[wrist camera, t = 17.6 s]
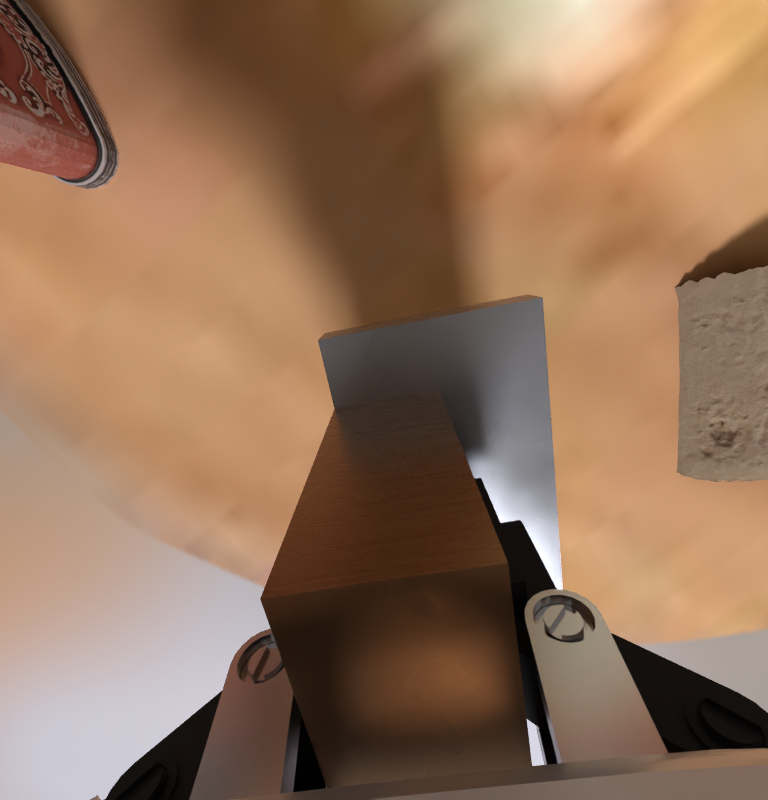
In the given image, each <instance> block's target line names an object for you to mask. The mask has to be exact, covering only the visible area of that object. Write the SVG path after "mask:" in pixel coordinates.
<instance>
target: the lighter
mask: <svg viewBox="0 0 768 800" xmlns="http://www.w3.org/2000/svg"><path fill="white" fill-rule="evenodd" d="M118 158H119V154H118V150H117V147H116V143H115V141H114V139H113V137H112V135H111V133H110V131H109V129H108V127H107V125H106V123H105V121H104V119H103V116H102V114H101V112H100V110H99V108H98V106H97V104H96V102H95V100H94V98H93V97H92V95H91V93H90V92H89V90H88V88H87V87H86V85H85V83H84V82H83V80H82V79H81V77H80V75H79V74H78V72H77V70H76V69H75V67H74V65H73V64H72V62H71V60H70V59H69V57H68V55H67V54H66V53H65V51H64V50H63V49H62V47H61V46H60V45H59V43H58V42H57V41H56V39H55V38H54V37H53V36H52V34H51V33H50V32H49V30H48V29H47V28H46V26H45V25H44V24H43V22H42V21H41V20H40V18H39V17H38V16H37V14H36V13H35V12H34V11H33V9H32V8H31V7H30V6H29V5H28V4H27V3H26V2H25V1H24V0H0V162H3V163H7V164H11V165H15V166H19V167H23V168H27V169H30V170H34V171H38V172H42V173H46V174H50V175H52V176H53V177H55V178H56V179H58V180H59V181H60V182H63V183H66V184H70V185H73V186H78V187H82V188H86V189H92V188H99V187H101V186H103V185H105V184H107V183H108V182H109V181H110V180H111V179H112V178H113V177H114V175H115V173H116V170H117V167H118Z"/></svg>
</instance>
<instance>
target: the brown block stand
mask: <svg viewBox="0 0 768 800" xmlns="http://www.w3.org/2000/svg"><path fill="white" fill-rule="evenodd" d="M318 342H319V346H320V350H321V354H322V358H323V362H324V366H325V371H326V375H327V379H328V383H329V387H330V391H331V395H332V400H333V404H334V408H335V409H334V412H333V415H332V417H331V420H330V422H329V425H328V427H327V430H326V432H325V435H324V438H323V440H322V443H321V445H320V448H319V450H318V453H317V455H316V458H315V461H314V463H313V466H312V468H311V471H310V473H309V476H308V478H307V481H306V484H305V486H304V489H303V491H302V494H301V496H300V499H299V501H298V504H297V507H296V509H295V512H294V514H293V517H292V519H291V522H290V524H289V527H288V530H287V532H286V535H285V537H284V540H283V542H282V545H281V547H280V550H279V553H278V555H277V558H276V560H275V563H274V565H273V568H272V570H271V573H270V576H269V578H268V581H267V583H266V586H265V588H264V591H263V593H262V596H261V602H262V605H263V608H264V610H265V613H266V616H267V619H268V622H269V625H270V628H271V630H272V633H273V636H274V639H275V642H276V644H277V647H278V650H279V653H280V656H281V659H282V661H283V664H284V667H285V670H286V673H287V676H288V678H289V681H290V684H291V687H292V690H293V693H294V695H295V698H296V701H297V704H298V707H299V710H300V712H301V715H302V718H303V721H304V724H305V726H306V729H307V732H308V735H309V738H310V741H311V743H312V746H313V749H314V752H315V755H316V758H317V760H318V763H319V766H320V769H321V772H322V775H323V777H324V780H325V783H326V786H327V788H335V787H344V786H353V785H362V784H371V783H380V782H389V781H398V780H408V779H417V778H426V777H435V776H445V775H454V774H463V773H472V772H482V771H491V770H501V769H511V768H520V767H530V766H532V763H531V754H530V745H529V737H528V728H527V720H526V711H525V703H524V694H523V686H522V677H521V669H520V660H519V652H518V643H517V634H516V626H515V617H514V609H513V600H512V592H511V583H510V575H509V566H508V561H507V559H506V556H505V554H504V551H503V549H502V546H501V544H500V541H499V539H498V536H497V534H496V531H495V529H494V526H493V524H492V521H491V519H490V516H489V514H488V511H487V509H486V506H485V504H484V501H483V499H482V496H481V494H480V491H479V489H478V486H477V484H476V481H475V478H481V479H482V481H483V483H484V486H485V488H486V490H487V492H488V495H489V497H490V499H491V502H492V504H493V506H494V509H495V511H496V513H497V516H498V518H499V520H500V523H503V522H509V521H516V520H520V521H522V523H523V524H524V526H525V528H526V530H527V532H528V534H529V536H530V538H531V540H532V542H533V544H534V546H535V548H536V550H537V551H538V553H539V555H540V557H541V559H542V561H543V563H544V565H545V567H546V569H547V571H548V573H549V575H550V577H551V579H552V581H553V582H554V584H555V586H556V588H557V589H560V590H563V586H562V571H561V557H560V542H559V528H558V513H557V499H556V485H555V470H554V456H553V441H552V427H551V413H550V398H549V384H548V369H547V355H546V340H545V326H544V312H543V298H542V297H537V296H532V295H523V296H518V297H512V298H507V299H502V300H497V301H491V302H486V303H481V304H476V305H470V306H465V307H460V308H455V309H449V310H444V311H439V312H434V313H429V314H423V315H418V316H413V317H408V318H402V319H397V320H392V321H387V322H381V323H376V324H371V325H366V326H360V327H355V328H350V329H345V330H339V331H334V332H329V333H325V334H324V335H323V336H322V337H321V338H320V339H319V340H318Z"/></svg>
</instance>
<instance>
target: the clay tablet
mask: <svg viewBox="0 0 768 800" xmlns="http://www.w3.org/2000/svg"><path fill="white" fill-rule="evenodd" d="M675 290H676V293H677V296H678V300H679V309H678V318H679V337H680V342H679V363H680V393H679V439H678V465H677V472H678V473H680V474H682V475H683V476H688V477H693V478H694V479H700V480H709V481H714V482H718V481H722V480H724V481H729V482H731V481H735V480H740V481H755V480H759V479H762V480H768V265H767V266H765V267H757V268H754V269H748V270H746V271H744V272H740V273H737V274H732V273H725V272H723V273H722V274H720V275H718V276H717V277H716V278H715V279H712V278H708V277H705V278H703V279H701V280H700V281H699V282H695V281H692V280H689V281H687V282H685V283H684V284H683V285H682V286H679V287H675Z"/></svg>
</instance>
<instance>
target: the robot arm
mask: <svg viewBox="0 0 768 800" xmlns="http://www.w3.org/2000/svg"><path fill="white" fill-rule="evenodd" d="M475 481H476V484H477V486H478V489H479V491H480V494H481V496H482V499H483V501H484V504H485V506H486V509H487V511H488V514H489V516H490V519H491V521H492V524H493V526H494V529H495V531H496V534H497V536H498V539H499V541H500V544H501V546H502V549H503V551H504V554H505V556H506V559H507V561H508V566H509V575H510V583H511V592H512V600H513V609H514V617H515V626H516V634H517V643H518V652H519V660H520V669H521V677H522V686H523V694H524V703H525V711H526V718H527V719H528V720H529V721H531V722H532V723H534V724H535V725H536V726H537V733H538V737H539V742H540V746H541V751H542V756H543V760H544V764H545V765H540V766H530V767H520V768H511V769H501V770H491V771H482V772H472V773H463V774H454V775H445V776H435V777H426V778H417V779H408V780H398V781H389V782H380V783H371V784H362V785H353V786H344V787H335V788H327V786H326V783H325V780H324V777H323V775H322V772H321V769H320V766H319V763H318V760H317V758H316V755H315V752H314V749H313V746H312V743H311V741H310V738H309V735H308V732H307V729H306V726H305V724H304V721H303V718H302V715H301V712H300V710H299V707H298V704H297V701H296V698H295V695H294V693H293V690H292V687H291V684H290V681H289V678H288V676H287V673H286V670H285V667H284V664H283V661H282V659H281V656H280V653H279V650H278V647H277V644H276V642H275V639H274V636H273V633H272V630H271V629H268V630H265V631H262V632H260V633H258V634H256V635H255V636H253V637H251V638H250V639H249V640H248V641H247V642H246V643H244V644H243V645H242V646H241V648H240V649H239V650H238V651H237V653H236V654H235V656H234V658H233V660H232V662H231V665H230V668H229V671H228V674H227V678H226V681H225V684H224V687H223V690H222V691H221V692H220V693H219V694H218V695H216V696H215V697H214V698H213V699H212V700H210V701H209V702H208V703H207V704H205V705H204V706H203V707H202V708H201V709H199V710H198V711H197V712H196V713H195V714H193V715H192V716H191V717H190V718H189V719H187V720H186V721H185V722H184V723H183V724H181V725H180V726H179V727H178V728H176V729H175V730H174V731H173V732H172V733H170V734H169V735H168V736H167V737H166V738H164V739H163V740H162V741H161V742H160V743H158V744H157V745H156V746H155V747H154V748H152V749H151V750H150V751H149V752H147V753H146V754H145V755H144V756H143V757H141V758H140V759H139V760H138V761H137V762H135V763H134V764H133V765H132V766H131V767H130V768H129V769H128V770H127V771H126V772H125V773H124V774H123V775H122V776H121V777H120V779H119V780H118V781H117V783H116V784H115V785H114V786H113V788H112V789H111V791H110V792H109V794H108V796H107V798H106V799H104V800H768V713H767V712H766V711H765V710H763V709H762V708H761V707H759V706H758V705H757V704H756V703H755V702H753V701H751V700H750V699H748V698H746V697H744V696H743V695H741V694H739V693H738V692H735V691H733V690H731V689H729V688H727V687H725V686H723V685H721V684H718V683H716V682H714V681H712V680H710V679H708V678H706V677H703V676H701V675H699V674H697V673H695V672H693V671H691V670H689V669H686V668H684V667H682V666H680V665H678V664H676V663H674V662H672V661H669V660H667V659H665V658H663V657H661V656H658V655H657V654H655V653H652V652H650V651H648V650H646V649H644V648H642V647H640V646H638V645H635V644H633V643H631V642H629V641H627V640H625V639H623V638H621V637H618V636H616V635H614V634H612V633H611V632H610V630H609V628H608V626H607V624H606V622H605V620H604V618H603V616H602V614H601V613H600V611H599V610H598V608H597V607H596V606H595V605H594V604H593V603H592V602H591V601H589V600H588V599H587V598H585V597H583V596H581V595H579V594H577V593H575V592H571V591H567V590H560V589H557V588H556V586H555V584H554V582H553V581H552V579H551V577H550V575H549V573H548V571H547V569H546V567H545V565H544V563H543V561H542V559H541V557H540V555H539V553H538V551H537V550H536V548H535V546H534V544H533V542H532V540H531V538H530V536H529V534H528V532H527V530H526V528H525V526H524V524H523V523H522V521H520V520H516V521H509V522H503V523H500V520H499V518H498V516H497V513H496V511H495V509H494V506H493V504H492V502H491V499H490V497H489V495H488V492H487V490H486V488H485V486H484V483H483V481H482V479H481V478H475ZM91 800H100V798H99V797H98V796H96V797H94V798H92V799H91Z"/></svg>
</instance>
